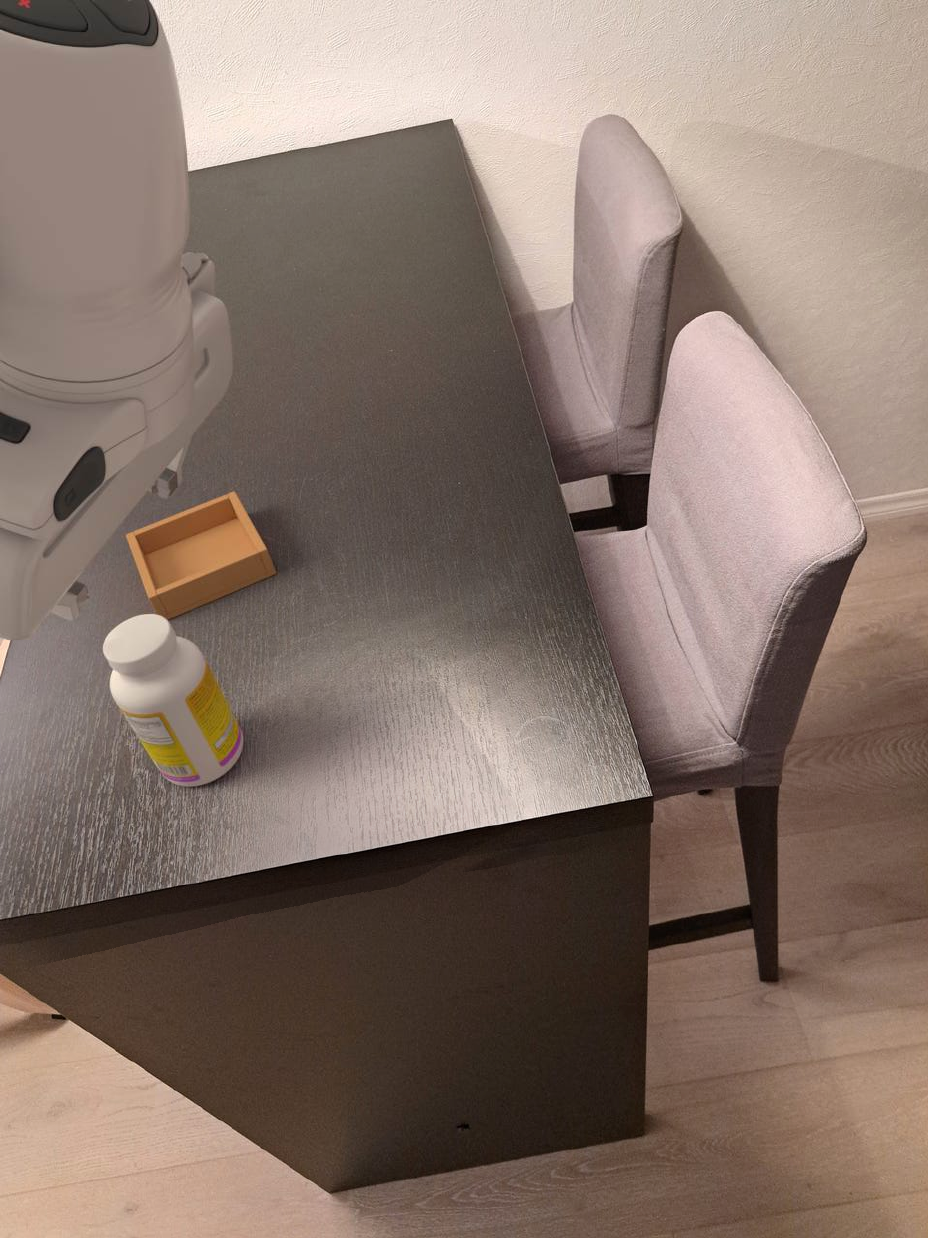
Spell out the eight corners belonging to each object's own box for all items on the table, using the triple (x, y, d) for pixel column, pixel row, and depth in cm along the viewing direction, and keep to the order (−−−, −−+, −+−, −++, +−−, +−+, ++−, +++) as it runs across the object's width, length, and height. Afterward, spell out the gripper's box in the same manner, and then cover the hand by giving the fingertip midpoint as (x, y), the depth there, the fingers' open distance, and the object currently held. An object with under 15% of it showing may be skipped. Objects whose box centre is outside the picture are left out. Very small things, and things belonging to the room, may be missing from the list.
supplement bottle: (233, 709, 75) (174, 589, 66) (256, 765, 70) (195, 645, 62) (152, 745, 74) (81, 628, 65) (170, 805, 69) (96, 687, 60)
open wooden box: (161, 622, 84) (148, 598, 82) (137, 558, 92) (125, 534, 90) (276, 573, 87) (267, 548, 85) (244, 514, 95) (234, 490, 93)
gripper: (152, 208, 47) (165, 404, 58) (-140, 482, 36) (-53, 660, 47) (266, 259, 47) (257, 446, 58) (11, 550, 35) (61, 712, 47)
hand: (117, 543), depth 53 cm, fingers open, 8 cm apart
